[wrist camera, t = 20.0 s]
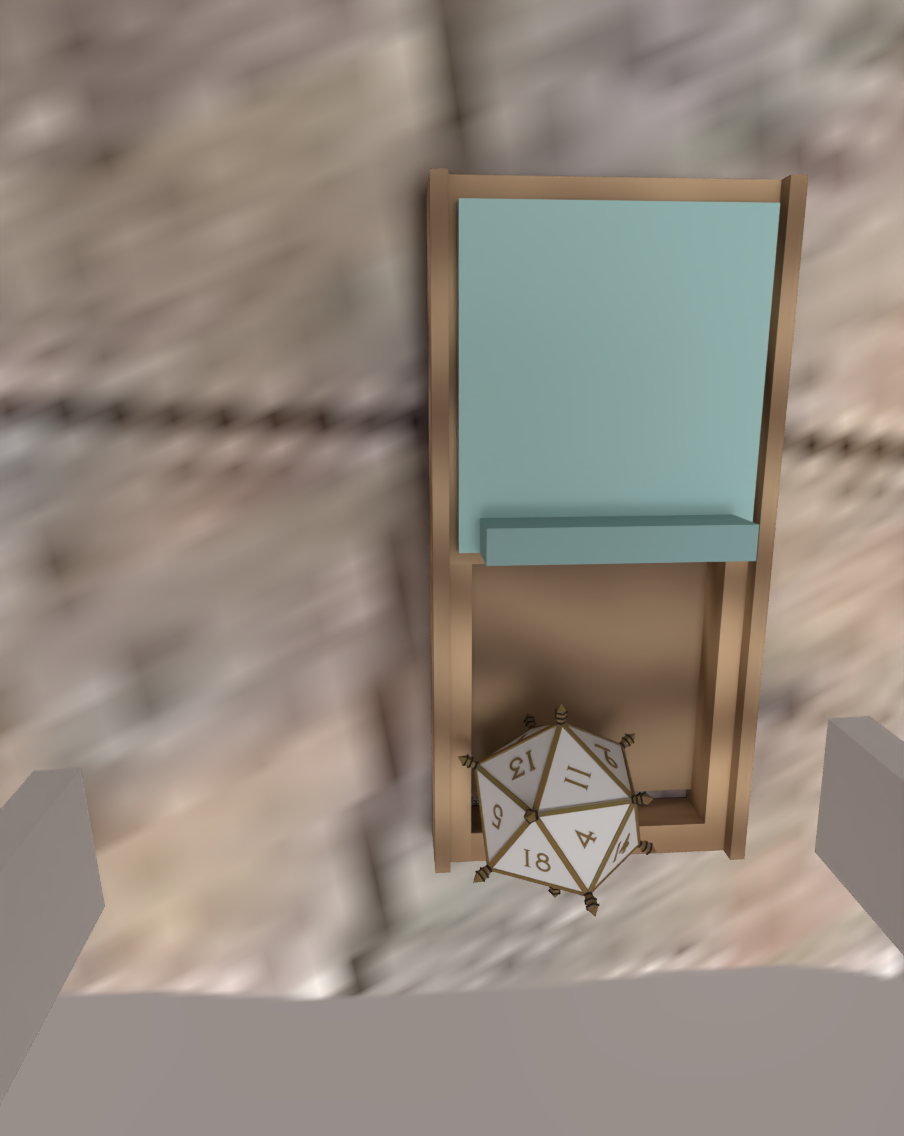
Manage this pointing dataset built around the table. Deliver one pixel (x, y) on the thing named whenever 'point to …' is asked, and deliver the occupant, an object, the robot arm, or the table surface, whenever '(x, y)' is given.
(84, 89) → the table surface
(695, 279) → the cover
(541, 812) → the game die
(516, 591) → the board
